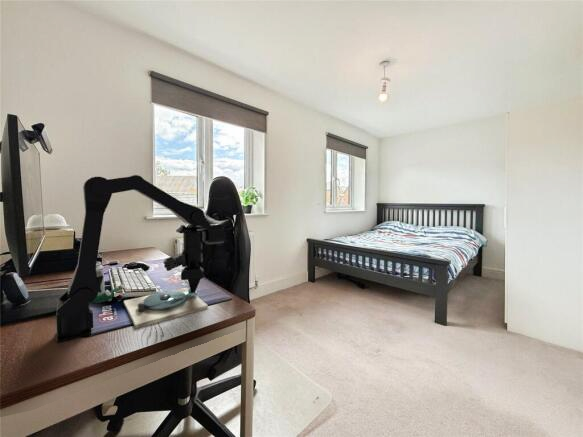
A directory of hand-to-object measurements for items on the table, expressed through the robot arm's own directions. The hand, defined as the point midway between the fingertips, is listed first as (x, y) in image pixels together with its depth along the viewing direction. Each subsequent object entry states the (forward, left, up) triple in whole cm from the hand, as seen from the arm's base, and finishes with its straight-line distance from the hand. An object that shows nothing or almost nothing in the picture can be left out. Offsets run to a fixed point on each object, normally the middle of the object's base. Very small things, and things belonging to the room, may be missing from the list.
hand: (193, 292), depth 83 cm
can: (-25, +25, -4) cm, 36 cm away
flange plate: (-7, +3, -2) cm, 8 cm away
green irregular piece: (-20, +20, -4) cm, 29 cm away
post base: (-8, +3, -4) cm, 9 cm away
